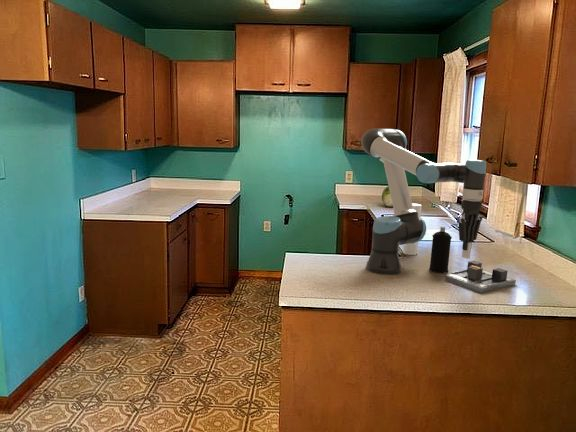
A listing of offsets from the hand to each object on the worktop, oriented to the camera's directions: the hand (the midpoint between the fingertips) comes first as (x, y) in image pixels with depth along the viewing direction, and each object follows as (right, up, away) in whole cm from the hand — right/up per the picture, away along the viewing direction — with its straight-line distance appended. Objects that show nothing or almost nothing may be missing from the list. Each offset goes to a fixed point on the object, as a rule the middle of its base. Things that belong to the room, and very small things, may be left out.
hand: (465, 257), depth 188 cm
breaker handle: (+6, -9, +5) cm, 12 cm away
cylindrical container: (-10, -2, +50) cm, 51 cm away
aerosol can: (-4, -8, +22) cm, 24 cm away
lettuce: (+11, +24, +188) cm, 190 cm away
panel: (+9, -11, +8) cm, 16 cm away
